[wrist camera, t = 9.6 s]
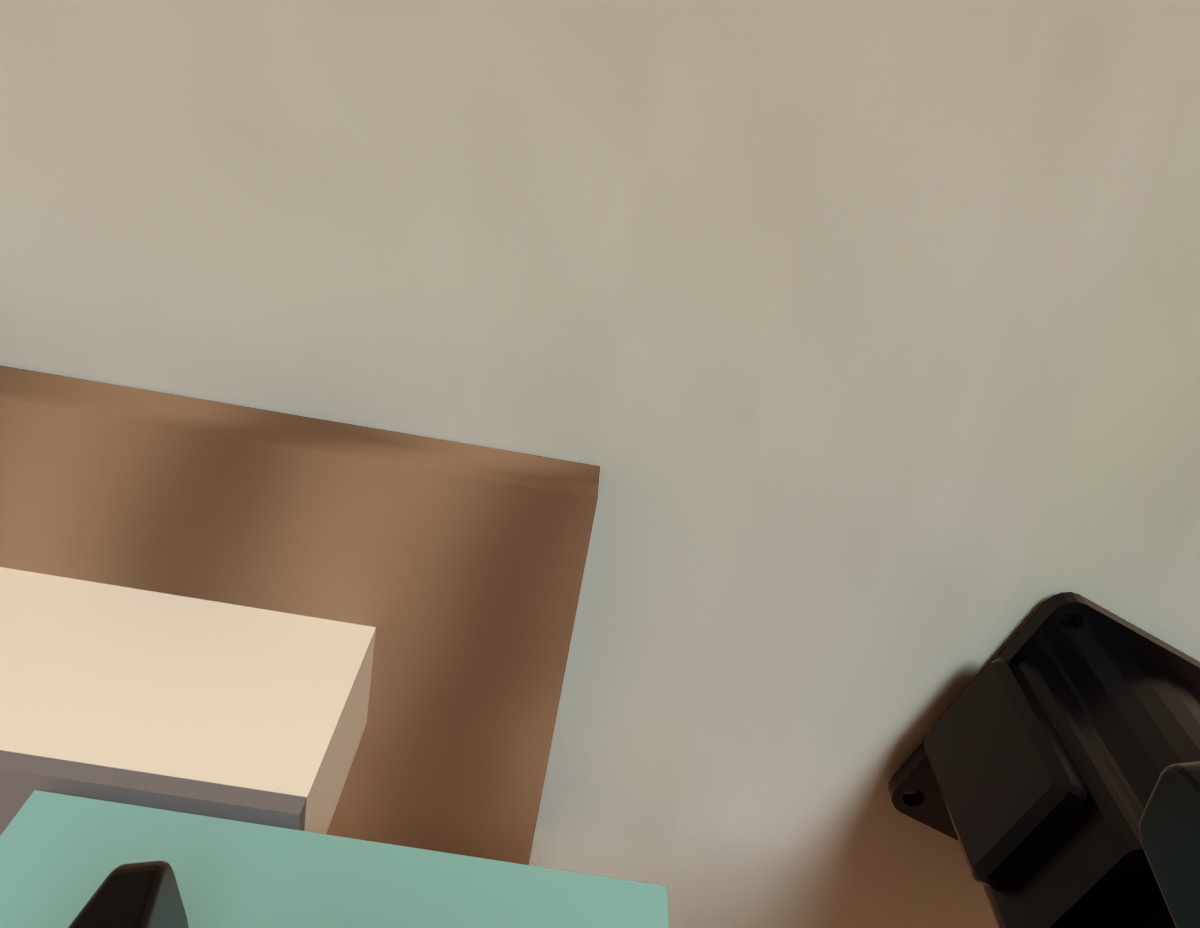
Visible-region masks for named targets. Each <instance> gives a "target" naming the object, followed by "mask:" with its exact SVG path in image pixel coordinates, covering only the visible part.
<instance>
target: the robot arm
mask: <svg viewBox="0 0 1200 928" xmlns="http://www.w3.org/2000/svg"><path fill="white" fill-rule="evenodd" d="M1070 612H1076V614H1075V616H1074V618H1072V619H1071V620H1070V621H1067V622H1059V621H1060V619H1061V617H1062V616H1063V615H1065V614H1066V613H1070ZM911 789H918V790H919V791H917V792H916V793H914V794H909V795H908V794H904V793H905V792H907V791H908V790H911ZM888 790H889V793H890V797H891V800H892V802H893V805H894V807H895V808H896V809H897V810H899V811H900V812H901V813H903V814H906V815H908V816H910V817H912V818H914V819H916V820H918V821H920V822H922V823H924V824H926V825H928V826H930V827H932V828H934V829H936V830H938V831H940V832H942V833H944V834H946V835H948V836H950V837H952V838H954V839H956V840H958V841H959V842H960V845H961V848H962V850H963V853H964V856H965V858H966V861H967V864H968V866H969V869H970V872H971V874H972V876H973V878H974V879H975V880H976V881H978V882H980V883H982V885H983V887H984V890H985V893H986V895H987V898H988V900H989V903H990V906H991V908H992V911H993V913H994V916H995V919H996V921H997V924H998V926H999V928H1200V662H1199V661H1197V660H1195V659H1194V658H1192V657H1190V656H1188V655H1186V654H1185V653H1183V652H1181V651H1179V650H1177V649H1176V648H1174V647H1172V646H1170V645H1169V644H1167V643H1165V642H1163V641H1161V640H1160V639H1158V638H1156V637H1154V636H1152V635H1151V634H1149V633H1147V632H1145V631H1144V630H1142V629H1140V628H1138V627H1136V626H1135V625H1133V624H1131V623H1129V622H1127V621H1126V620H1124V619H1122V618H1120V617H1118V616H1117V615H1115V614H1113V613H1111V612H1110V611H1108V610H1106V609H1104V608H1102V607H1101V606H1099V605H1097V604H1095V603H1093V602H1092V601H1090V600H1088V599H1086V598H1084V597H1083V596H1081V595H1079V594H1075V593H1072V592H1065V593H1060V594H1057V595H1054V596H1052V597H1051V598H1050V599H1049V600H1048V601H1046V602H1045V603H1044V604H1043V606H1042V607H1041V608H1040V609H1039V610H1038V611H1037V612H1036V614H1035V615H1034V616H1033V617H1032V618H1031V619H1030V620H1029V622H1028V623H1027V624H1026V625H1025V626H1024V627H1023V628H1022V630H1021V631H1020V632H1019V633H1018V634H1017V635H1016V636H1015V638H1014V639H1013V640H1012V641H1011V642H1010V643H1009V644H1008V646H1007V647H1006V648H1005V649H1004V650H1003V651H1002V652H1001V654H1000V655H999V656H998V657H997V658H996V659H995V660H994V661H992V662H990V663H989V664H988V665H987V666H986V667H985V668H984V669H983V670H982V671H981V673H980V674H979V675H978V676H977V677H976V678H975V679H974V681H973V682H972V683H971V684H970V685H969V686H968V687H967V689H966V690H965V691H964V692H963V693H962V694H961V695H960V697H959V698H958V699H957V700H956V701H955V702H954V703H953V705H952V706H951V707H950V708H949V709H948V710H947V711H946V713H945V714H944V715H943V716H942V717H941V718H940V719H939V721H938V722H937V723H936V724H935V725H934V726H933V727H932V729H931V730H930V731H929V732H928V733H927V734H926V735H925V737H924V739H923V743H922V744H921V745H920V746H919V747H918V748H917V749H916V751H915V752H914V753H913V754H912V755H911V756H910V757H909V758H908V760H907V761H906V762H905V763H904V764H903V765H902V766H901V768H900V769H899V770H898V771H897V772H896V773H895V774H894V776H893V777H892V778H891V780H890V782H889V788H888ZM68 928H189V927H188V919H187V915H186V912H185V909H184V905H183V902H182V898H181V895H180V892H179V888H178V885H177V881H176V878H175V875H174V872H173V869H172V867H171V865H170V864H169V863H168V862H166V861H162V860H157V861H147V862H136V863H126V864H122V865H120V866H118V867H117V868H115V869H114V870H113V871H111V873H110V874H109V875H108V876H107V877H106V879H105V880H104V881H103V883H102V884H101V885H100V886H99V888H98V889H97V890H96V892H95V893H94V894H93V896H92V897H91V898H90V899H89V901H88V902H87V903H86V905H85V906H84V907H83V909H82V910H81V911H80V912H79V914H78V915H77V916H76V918H75V919H74V920H73V922H72V923H71V924H70V925H69V927H68Z"/></svg>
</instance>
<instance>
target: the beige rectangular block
mask: <svg viewBox="0 0 1200 928" xmlns="http://www.w3.org/2000/svg"><path fill="white" fill-rule="evenodd" d="M375 632H376V627H371V626H365V625H359V624H353V623H346V622H340V621H334V620H328V619H321V618H315V617H309V616H303V615H297V614H290V613H284V612H278V611H272V610H265V609H259V608H253V607H247V606H240V605H234V604H228V603H222V602H216V601H209V600H203V599H197V598H191V597H184V596H178V595H172V594H166V593H159V592H153V591H147V590H141V589H134V588H128V587H122V586H116V585H110V584H103V583H97V582H91V581H85V580H78V579H72V578H66V577H60V576H53V575H47V574H41V573H35V572H29V571H22V570H16V569H10V568H4V567H0V836H1V834H2V833H3V832H4V830H5V829H6V828H7V826H8V825H9V824H10V822H11V821H12V820H13V818H14V817H15V816H16V814H17V813H18V812H19V810H20V809H21V808H22V806H23V805H24V804H25V802H26V801H27V800H28V798H29V797H30V796H31V794H32V793H33V792H34V790H38V791H44V792H51V793H57V794H64V795H70V796H77V797H84V798H90V799H97V800H103V801H110V802H116V803H123V804H130V805H136V806H143V807H149V808H156V809H162V810H169V811H176V812H182V813H189V814H195V815H202V816H208V817H215V818H222V819H228V820H235V821H241V822H248V823H254V824H261V825H268V826H274V827H281V828H287V829H294V830H300V831H307V832H314V833H320V834H327V831H328V828H329V825H330V823H331V820H332V817H333V814H334V812H335V809H336V806H337V803H338V801H339V798H340V795H341V792H342V790H343V787H344V784H345V781H346V779H347V776H348V773H349V770H350V768H351V765H352V762H353V759H354V757H355V754H356V751H357V748H358V746H359V743H360V740H361V737H362V735H363V732H364V729H365V727H366V723H367V713H368V703H369V693H370V683H371V672H372V662H373V652H374V642H375Z"/></svg>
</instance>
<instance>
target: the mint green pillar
mask: <svg viewBox="0 0 1200 928" xmlns="http://www.w3.org/2000/svg"><path fill="white" fill-rule="evenodd" d="M157 860H162V861H166V862H168V863H169V864H170V865H171V867H172V869H173V872H174V875H175V878H176V881H177V885H178V888H179V892H180V895H181V898H182V902H183V905H184V909H185V912H186V915H187V919H188V927H189V928H668V899H667V886H662V885H655V884H649V883H642V882H635V881H629V880H622V879H616V878H609V877H603V876H596V875H589V874H583V873H576V872H570V871H563V870H557V869H550V868H543V867H537V866H530V865H524V864H517V863H511V862H504V861H498V860H491V859H484V858H478V857H471V856H465V855H458V854H452V853H445V852H438V851H432V850H425V849H419V848H412V847H406V846H399V845H392V844H386V843H379V842H373V841H366V840H360V839H353V838H346V837H340V836H333V835H327V834H320V833H314V832H307V831H300V830H294V829H287V828H281V827H274V826H268V825H261V824H254V823H248V822H241V821H235V820H228V819H222V818H215V817H208V816H202V815H195V814H189V813H182V812H176V811H169V810H162V809H156V808H149V807H143V806H136V805H130V804H123V803H116V802H110V801H103V800H97V799H90V798H84V797H77V796H70V795H64V794H57V793H51V792H44V791H38V790H34V792H33V793H32V794H31V796H30V797H29V798H28V800H27V801H26V802H25V804H24V805H23V806H22V808H21V809H20V810H19V812H18V813H17V814H16V816H15V817H14V818H13V820H12V821H11V822H10V824H9V825H8V826H7V828H6V829H5V830H4V832H3V833H2V834H1V836H0V928H68V927H69V925H70V924H71V923H72V922H73V920H74V919H75V918H76V916H77V915H78V914H79V912H80V911H81V910H82V909H83V907H84V906H85V905H86V903H87V902H88V901H89V899H90V898H91V897H92V896H93V894H94V893H95V892H96V890H97V889H98V888H99V886H100V885H101V884H102V883H103V881H104V880H105V879H106V877H107V876H108V875H109V874H110V873H111V871H113V870H114V869H115V868H117V867H118V866H120V865H122V864H126V863H136V862H147V861H157Z"/></svg>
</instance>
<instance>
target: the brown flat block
mask: <svg viewBox="0 0 1200 928" xmlns="http://www.w3.org/2000/svg"><path fill="white" fill-rule="evenodd" d="M599 471H600V466H594V465H588V464H582V463H576V462H570V461H564V460H558V459H552V458H546V457H541V456H535V455H529V454H523V453H517V452H511V451H505V450H499V449H493V448H487V447H481V446H475V445H469V444H463V443H457V442H451V441H445V440H439V439H433V438H427V437H421V436H416V435H410V434H404V433H398V432H392V431H386V430H380V429H374V428H368V427H362V426H356V425H350V424H344V423H338V422H332V421H326V420H320V419H314V418H308V417H302V416H297V415H291V414H285V413H279V412H273V411H267V410H261V409H255V408H249V407H243V406H237V405H231V404H225V403H219V402H213V401H207V400H201V399H195V398H189V397H183V396H178V395H172V394H166V393H160V392H154V391H148V390H142V389H136V388H130V387H124V386H118V385H112V384H106V383H100V382H94V381H88V380H82V379H76V378H70V377H64V376H59V375H53V374H47V373H41V372H35V371H29V370H23V369H17V368H11V367H5V366H0V567H4V568H10V569H16V570H22V571H29V572H35V573H41V574H47V575H53V576H60V577H66V578H72V579H78V580H85V581H91V582H97V583H103V584H110V585H116V586H122V587H128V588H134V589H141V590H147V591H153V592H159V593H166V594H172V595H178V596H184V597H191V598H197V599H203V600H209V601H216V602H222V603H228V604H234V605H240V606H247V607H253V608H259V609H265V610H272V611H278V612H284V613H290V614H297V615H303V616H309V617H315V618H321V619H328V620H334V621H340V622H346V623H353V624H359V625H365V626H371V627H376V632H375V642H374V652H373V662H372V672H371V683H370V693H369V703H368V713H367V723H366V727H365V729H364V732H363V735H362V737H361V740H360V743H359V746H358V748H357V751H356V754H355V757H354V759H353V762H352V765H351V768H350V770H349V773H348V776H347V779H346V781H345V784H344V787H343V790H342V792H341V795H340V798H339V801H338V803H337V806H336V809H335V812H334V814H333V817H332V820H331V823H330V825H329V828H328V831H327V835H333V836H340V837H346V838H353V839H360V840H366V841H373V842H379V843H386V844H392V845H399V846H406V847H412V848H419V849H425V850H432V851H438V852H445V853H452V854H458V855H465V856H471V857H478V858H484V859H491V860H498V861H504V862H511V863H517V864H524V865H528V864H529V858H530V853H531V848H532V842H533V837H534V832H535V827H536V821H537V816H538V811H539V805H540V800H541V795H542V789H543V784H544V779H545V774H546V768H547V763H548V758H549V752H550V747H551V742H552V736H553V731H554V726H555V721H556V715H557V710H558V705H559V699H560V694H561V689H562V683H563V678H564V673H565V668H566V662H567V657H568V652H569V646H570V641H571V636H572V630H573V625H574V620H575V615H576V609H577V604H578V599H579V593H580V588H581V583H582V577H583V572H584V567H585V562H586V556H587V551H588V546H589V540H590V535H591V530H592V524H593V519H594V514H595V509H596V503H597V497H598V484H599Z"/></svg>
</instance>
